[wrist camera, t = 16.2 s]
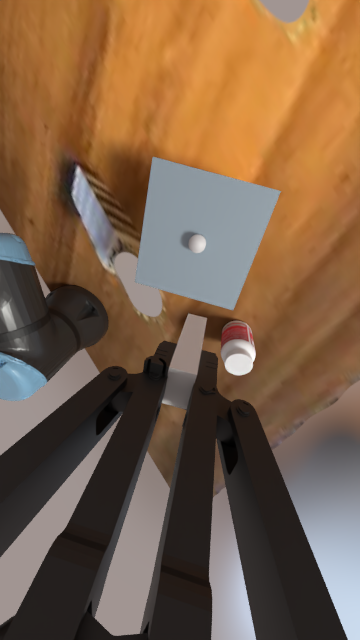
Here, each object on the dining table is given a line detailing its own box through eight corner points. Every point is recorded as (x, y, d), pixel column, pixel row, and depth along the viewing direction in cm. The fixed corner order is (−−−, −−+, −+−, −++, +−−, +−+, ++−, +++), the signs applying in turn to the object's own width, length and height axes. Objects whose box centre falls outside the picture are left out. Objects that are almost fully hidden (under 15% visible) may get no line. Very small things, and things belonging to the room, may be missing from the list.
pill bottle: (215, 331, 49) (212, 363, 39) (236, 313, 46) (239, 343, 36) (236, 349, 50) (238, 384, 40) (257, 332, 47) (265, 366, 37)
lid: (136, 280, 37) (132, 284, 35) (154, 157, 29) (149, 154, 27) (232, 308, 37) (233, 313, 35) (279, 191, 28) (283, 190, 26)
